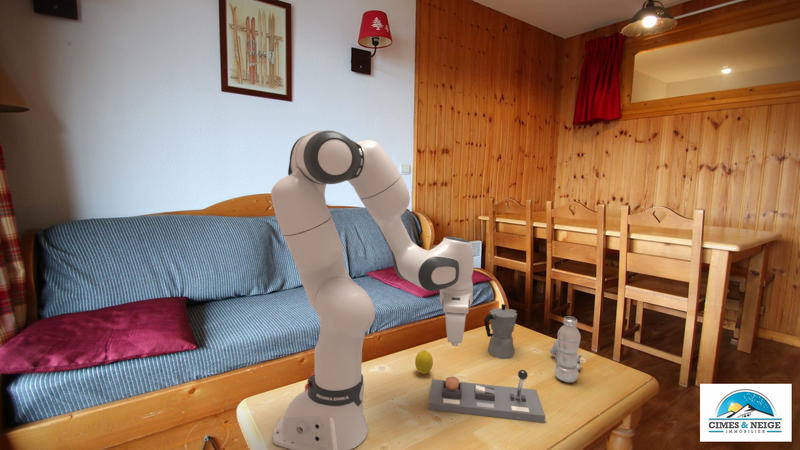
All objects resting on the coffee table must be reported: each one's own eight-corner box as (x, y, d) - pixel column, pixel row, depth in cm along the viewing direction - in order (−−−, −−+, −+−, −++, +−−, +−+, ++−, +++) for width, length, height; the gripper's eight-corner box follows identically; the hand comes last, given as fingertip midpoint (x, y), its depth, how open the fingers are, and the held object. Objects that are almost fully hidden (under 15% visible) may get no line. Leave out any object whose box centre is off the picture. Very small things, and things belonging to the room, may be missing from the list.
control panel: (428, 409, 103) (428, 397, 103) (431, 385, 115) (432, 374, 114) (544, 422, 99) (545, 409, 98) (535, 396, 110) (536, 384, 110)
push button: (445, 389, 106) (445, 382, 106) (445, 382, 110) (446, 375, 109) (458, 390, 106) (458, 384, 105) (458, 383, 109) (458, 377, 109)
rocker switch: (475, 392, 106) (476, 388, 106) (475, 388, 108) (475, 385, 108) (493, 397, 105) (494, 393, 105) (492, 392, 107) (493, 389, 107)
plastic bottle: (573, 388, 115) (578, 324, 112) (550, 379, 119) (555, 318, 117) (580, 379, 120) (585, 318, 117) (558, 372, 124) (563, 313, 121)
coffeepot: (503, 343, 144) (506, 297, 142) (523, 353, 136) (527, 305, 134) (473, 353, 136) (475, 304, 133) (492, 364, 128) (495, 313, 126)
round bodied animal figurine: (565, 379, 125) (573, 361, 121) (545, 350, 135) (552, 333, 131) (584, 376, 127) (593, 358, 122) (563, 348, 137) (571, 331, 132)
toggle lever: (513, 401, 105) (519, 375, 98) (512, 393, 107) (518, 367, 100) (522, 402, 104) (528, 376, 98) (521, 394, 106) (527, 368, 99)
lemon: (431, 379, 118) (432, 355, 117) (413, 377, 119) (414, 353, 118) (433, 370, 123) (434, 347, 122) (416, 368, 124) (417, 345, 123)
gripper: (445, 283, 115) (444, 327, 117) (442, 308, 95) (441, 360, 97) (467, 284, 114) (465, 329, 116) (468, 309, 94) (467, 362, 96)
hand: (454, 343), depth 106 cm, fingers closed
